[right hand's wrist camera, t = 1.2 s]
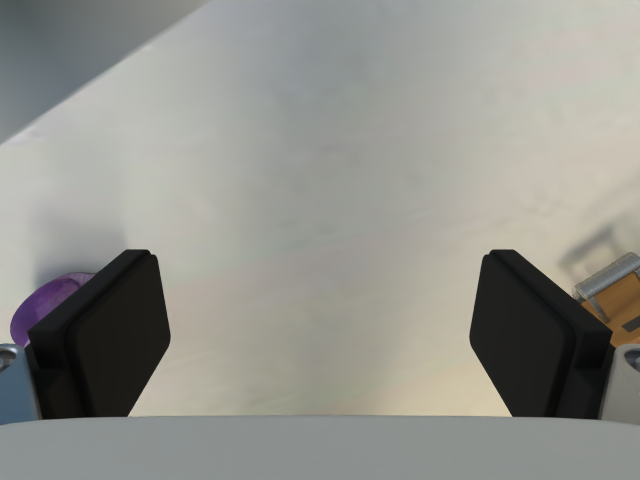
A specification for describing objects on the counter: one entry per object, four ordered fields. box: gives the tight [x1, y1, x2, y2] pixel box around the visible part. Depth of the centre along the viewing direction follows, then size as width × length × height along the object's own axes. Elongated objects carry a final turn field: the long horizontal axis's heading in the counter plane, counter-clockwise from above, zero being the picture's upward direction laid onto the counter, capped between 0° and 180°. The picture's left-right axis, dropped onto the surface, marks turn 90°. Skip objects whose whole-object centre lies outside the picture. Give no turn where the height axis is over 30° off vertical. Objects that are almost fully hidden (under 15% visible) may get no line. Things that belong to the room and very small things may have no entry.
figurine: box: [10, 273, 95, 348], centre depth 36 cm, size 9×10×15 cm
